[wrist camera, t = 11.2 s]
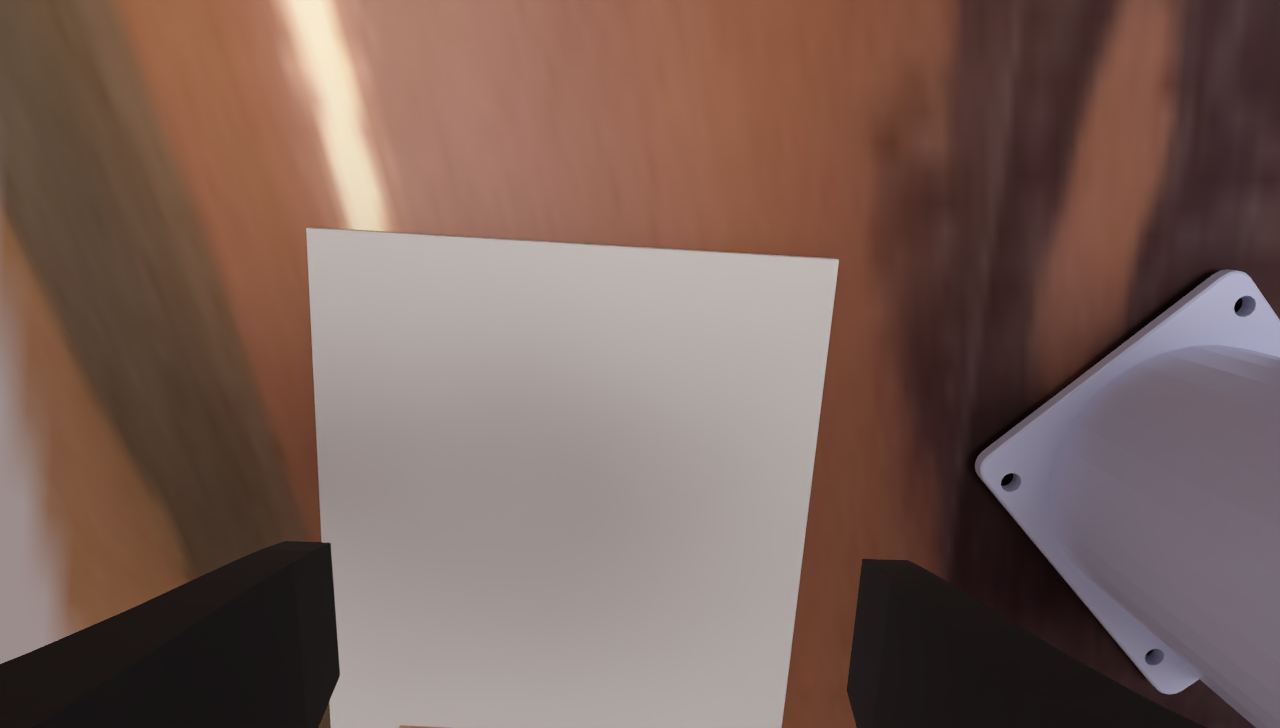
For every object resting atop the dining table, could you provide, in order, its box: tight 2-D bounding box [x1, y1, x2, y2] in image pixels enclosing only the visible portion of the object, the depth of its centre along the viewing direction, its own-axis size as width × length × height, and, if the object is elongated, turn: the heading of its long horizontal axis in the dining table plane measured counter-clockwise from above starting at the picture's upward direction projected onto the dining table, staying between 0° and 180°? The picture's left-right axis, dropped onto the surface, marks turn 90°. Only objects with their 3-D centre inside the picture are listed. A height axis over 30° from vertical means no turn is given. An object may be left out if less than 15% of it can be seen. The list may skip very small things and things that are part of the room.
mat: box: [306, 227, 839, 728], centre depth 20 cm, size 23×13×1 cm, turn 177°
